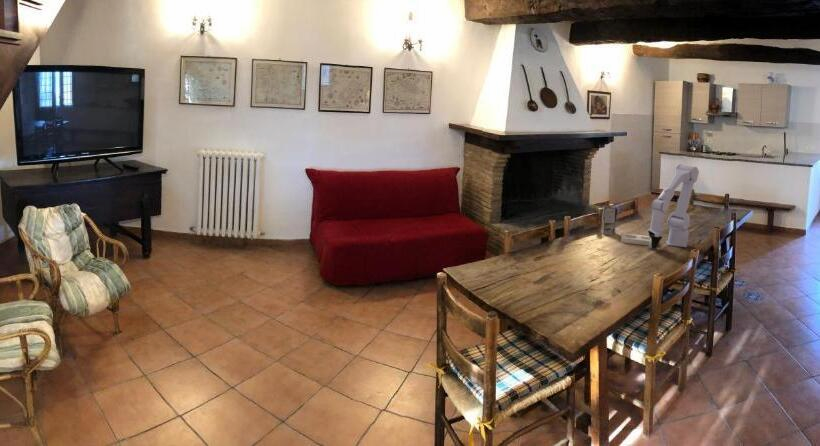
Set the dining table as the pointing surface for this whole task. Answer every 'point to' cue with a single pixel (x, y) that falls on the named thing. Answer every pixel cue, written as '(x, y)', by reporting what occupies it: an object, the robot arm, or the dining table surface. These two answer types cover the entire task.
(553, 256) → the dining table surface
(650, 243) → the sleeve
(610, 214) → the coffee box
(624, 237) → the socket block
